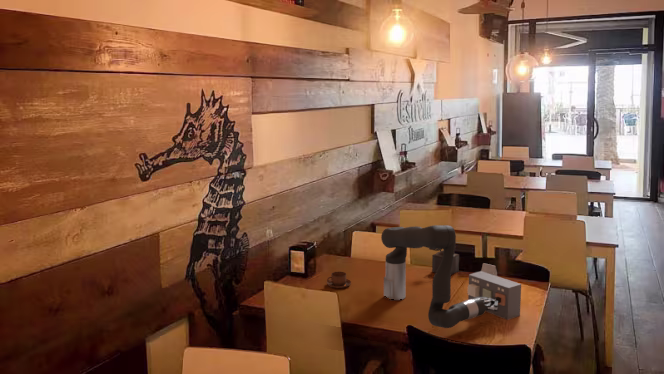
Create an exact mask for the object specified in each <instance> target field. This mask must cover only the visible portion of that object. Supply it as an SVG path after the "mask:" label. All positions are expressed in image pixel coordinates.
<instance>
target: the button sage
mask: <svg viewBox="0 0 664 374" xmlns="http://www.w3.org/2000/svg"><path fill="white" fill-rule="evenodd" d="M483 297H488V298H492V290H490V289H487V288H483Z"/></svg>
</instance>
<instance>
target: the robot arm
mask: <svg viewBox="0 0 664 374" xmlns="http://www.w3.org/2000/svg"><path fill="white" fill-rule="evenodd" d="M456 241H457V236H456V230H455V228H454V227H453V226H451V225H448V224H447V225H442V224H441V225H440V224H439V225H429V226H427V227H421V226H416V225H415V226H407V227H404V226H395V227H387V228H385V229H384V230H383V231H382V233H381V242H382V245H384V247H386V248H387V249H393V250H392V251H390V252H389V253H387V254H386V255H385V276H384V277H383V297H384V296H386V297H387V298H389V299H394V300H393V301H401V300H400V299H402V300H404V299H405V298H406V294H407V293H406V287H407V285H406V283H407V282H406V281H407V280H406V279H407V278H406V268H407V267H406V266H407V264H406V263H407V255H408V253H407V252H408V249H421V248H423V247H424V248H427V249H429V248H431V249H442V251H443V258H442V261H441V263H440V265H439V267H438V269H437V271H436V273H434V276H433V277H432V291H431V292H432V294H431V295H432V297H431V301H430V305H429V309H428V312H427V313H428V315H427V316H428V322H429V323H430V324H431V325H432V326H435V327H439V328H442V329H451V328H453V327H454V326H456V325H458V324H459V323H460V322H463V321H467V320H472V319H474V318H478V317H481V316H482V315H484V314H485V313H486V311H488V310H491V309H493V310H494V311H497V310H498V303H501V298H500V297H495V298H488V297H474V298H471V299H468V298H467V299H465V300H463V301H460V302H457V303H454V304H451V305H450V306H449V308H448V309H446V308H445V309H444V308H443V307H444V304H447V303H450V301H451V293H452V291H451V281H452V280H451V278H452V275H451V270H452V264H453V258H454V254H455V250H456V243H457V242H456ZM386 297H385V298H386ZM387 298H386V299H387ZM389 299H388V300H389Z"/></svg>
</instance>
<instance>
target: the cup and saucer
mask: <svg viewBox="0 0 664 374" xmlns="http://www.w3.org/2000/svg"><path fill="white" fill-rule="evenodd" d="M326 284H327V286H329V287H330V288H335V289H343V288H347V287H349V286H350V285H351V284H352V281H351V280H349V279H347V273H346V272H344V271H334V272H331V275H330V276H328V277H327V279H326ZM345 284H346V286H344V285H345Z"/></svg>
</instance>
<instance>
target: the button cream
mask: <svg viewBox="0 0 664 374" xmlns="http://www.w3.org/2000/svg"><path fill="white" fill-rule="evenodd" d="M467 295H470V296H473V297H478V296H480V286H478V285H476V284H469V283H468V284H467Z"/></svg>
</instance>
